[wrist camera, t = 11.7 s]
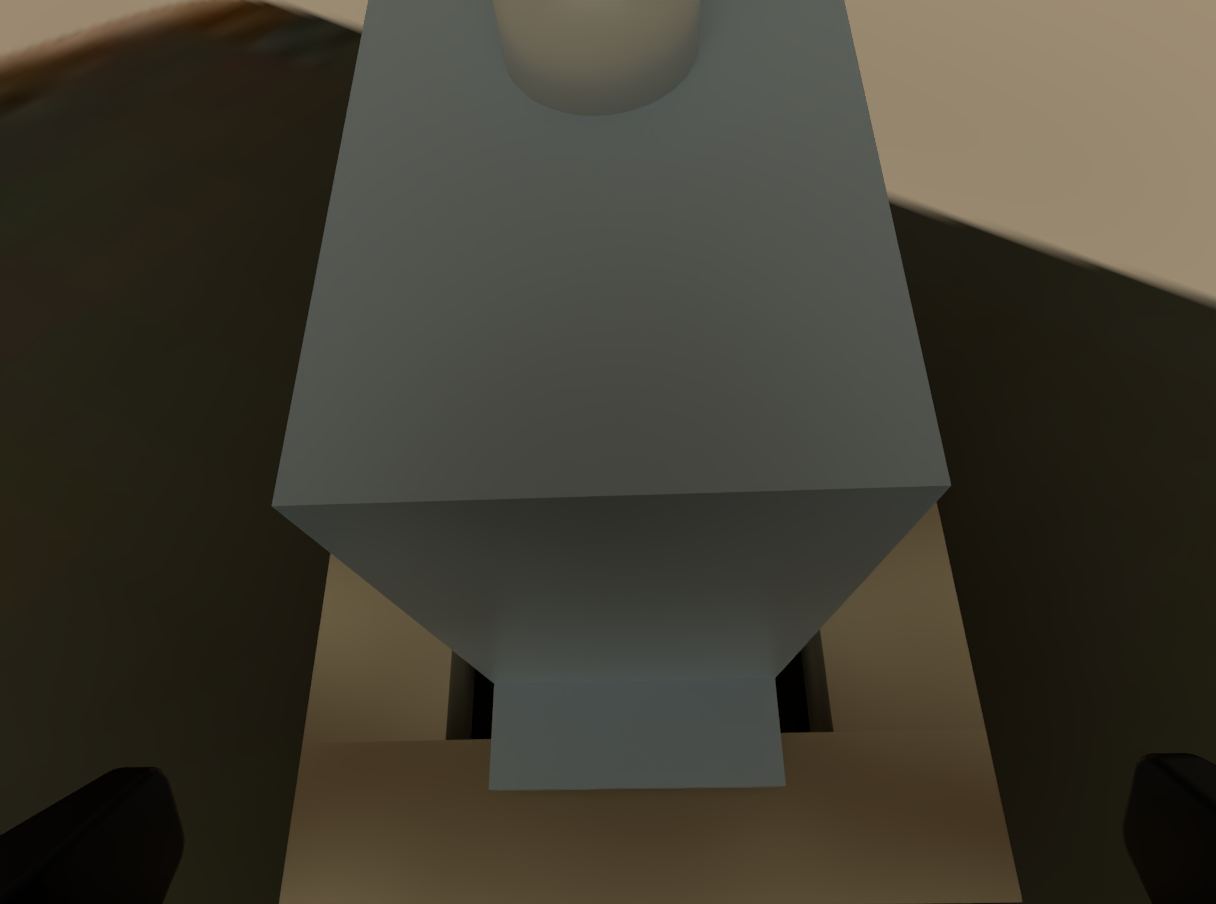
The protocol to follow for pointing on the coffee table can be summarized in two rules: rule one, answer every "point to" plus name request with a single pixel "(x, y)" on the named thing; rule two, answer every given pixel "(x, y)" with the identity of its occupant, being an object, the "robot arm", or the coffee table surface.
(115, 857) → the robot arm
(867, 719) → the plate
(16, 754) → the coffee table surface
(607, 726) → the servo
